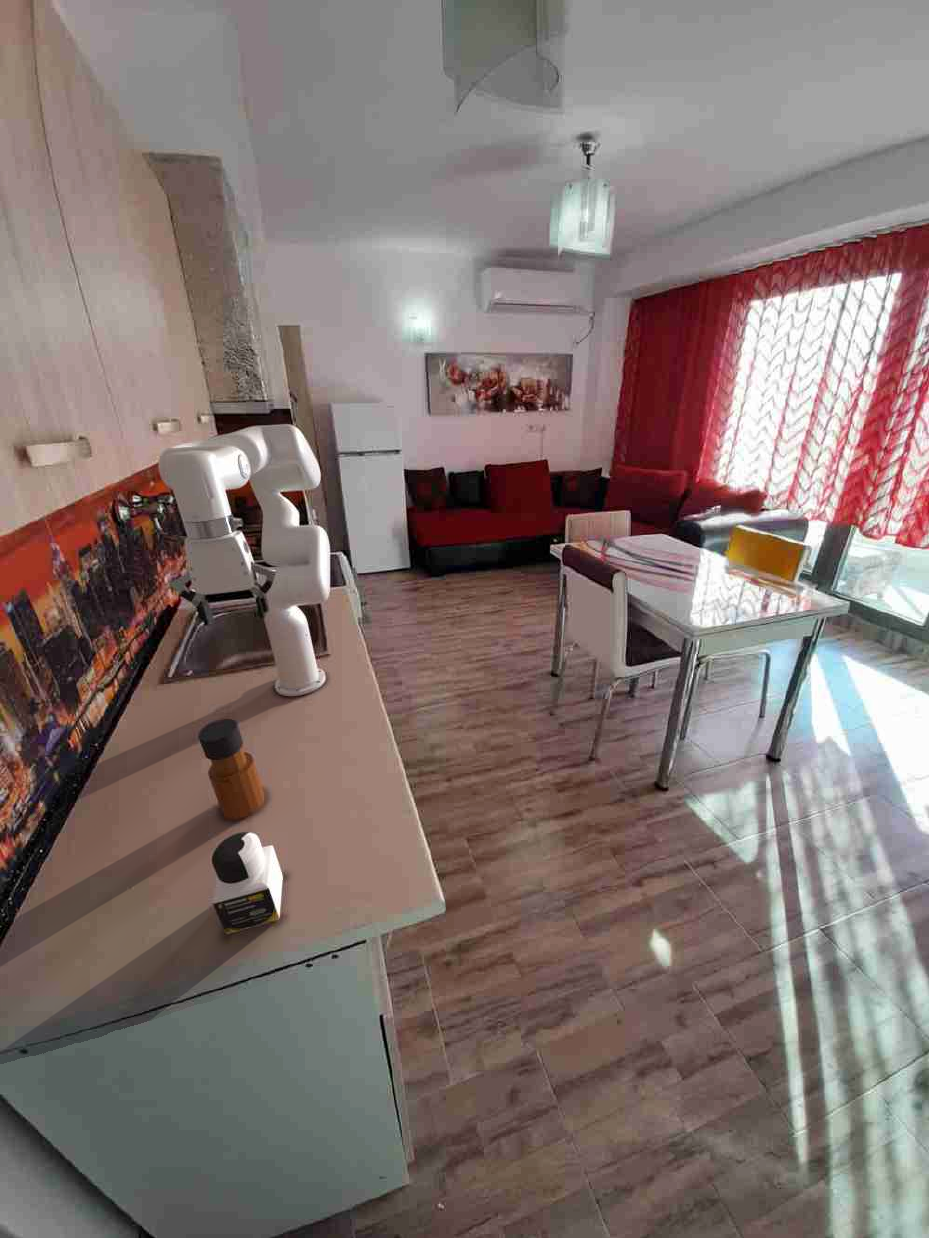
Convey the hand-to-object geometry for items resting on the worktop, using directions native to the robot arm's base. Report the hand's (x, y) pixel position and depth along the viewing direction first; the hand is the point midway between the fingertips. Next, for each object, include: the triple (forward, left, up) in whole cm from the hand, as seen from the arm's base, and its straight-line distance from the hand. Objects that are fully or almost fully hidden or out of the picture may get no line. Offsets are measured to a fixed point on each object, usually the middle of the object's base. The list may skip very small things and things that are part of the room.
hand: (236, 618), depth 88 cm
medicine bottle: (+36, +3, -31) cm, 47 cm away
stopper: (+15, -3, -21) cm, 26 cm away
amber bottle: (+15, -3, -30) cm, 34 cm away
